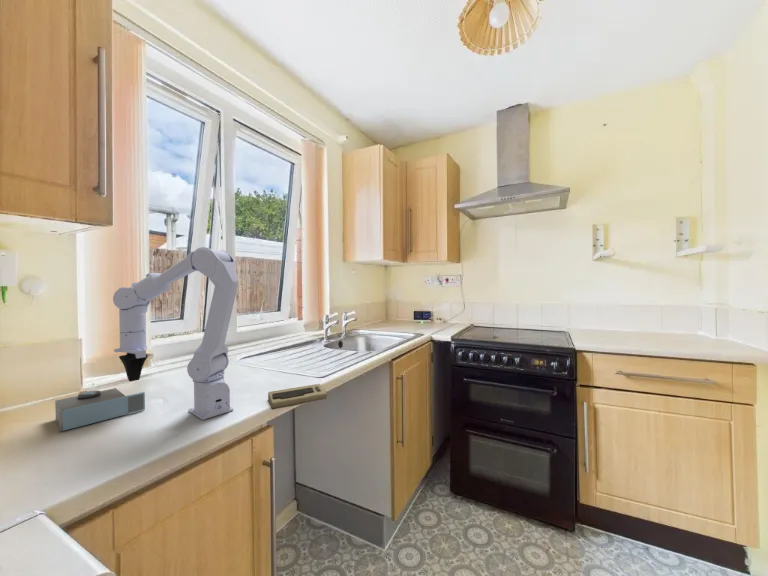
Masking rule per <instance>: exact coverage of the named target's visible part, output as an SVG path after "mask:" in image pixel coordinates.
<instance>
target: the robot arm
mask: <svg viewBox="0 0 768 576" xmlns="http://www.w3.org/2000/svg"><path fill="white" fill-rule="evenodd" d="M235 266H236V260H235V258H234V257H233V256H232V255H231V253H229V252H228V251H226V250H220V249H219V250H218V249H213V248H209V247H206V246H202V247H198V248H196V249H195V250H193V251H191V252H189V253H188V254H187V255H186V256H185V257H184V258H183V259H181V260H180V261H178V262H177V263H175V264H174V265H172V266H170V267H168V268H167V269H166V270H165V271H163V272H162V273H159V272H151V273H150V272H148V273H147V274H145V278H143V279H141V280H140V281H137V282H133V283H131V285H130V286H129V287H125V286H124V287H119V288H118V289H117V290H116V291H115V292H114V293H113V296H112V302H113V304H114V306H115V307H116V308H118V310H119V311H118V315H119V320H118V321H119V348H114V349H113V350H114V353H125V354H123V355H119V356H118V358H119V360H120V361H121V362H122V364H123V366H124V367H123V368H124V370H125V374H126V377H127V380H128V381H129V382H135V381H140V378H141V374H142V371H143V367H144V365H145V362H146V360H147V359H148V356H149V355H148V354H147V349H148V345H147V321H146V320H147V316H146V315H147V312H148V307H149V305H150V304H151V301H153V300H154V299H156V298H158V297H160V296H161V295H162V294H164V293H167V292H168V291H169V290H170V289H171V284H173V283H175V282H176V281H179V280H181V279H182V278H184V277H186V276H188V275H190V274H192V273H194V272H199V273H201V274H203V275H204V276H205V277H206V278H208V279H209V281H210V282H211V283H212V284H213V286H214V288H213V289H214V290H213V293H212V298H211V301H210V306H209V311H208V315H207V319H206V324H205V328H204V332H203V336H202V341H201V344H200V345H199V346H198V347H197V348H196V349H195V351H194V352H193V357H192V358H191V359H190V361H189V362H188V363H187V366H186V371H187V374H188V376H189V377H190V379H192V382H193V397H194V398H193V401H194V402H193V403H194V404H193V407H191V408H189V409H188V412H189V413H191V414H192V415H194V416H195V417H197V418H199V419H200V420H208V419H210V418H213V417H216V416H220V415H222V414H226V413H229V412H232V411H234V408H233V407H231V402H230V401H231V400H230V399H231V397H230V395H231V394H230V393H231V392H230V387H229V385H228V384H227V383H226V382H225V370H226V369H227V368H228V367H229V361H230V360H229V356H228V354H229V348H228V346H226V344H225V343H226V339H227V335H228V334H227V333H228V331H229V325H230V321H231V317H232V313H233V309H234V304H235V301H236V295H237V291H238V286H239V279H238V273H237V269H236V267H235Z"/></svg>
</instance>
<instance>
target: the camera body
mask: <svg viewBox="0 0 768 576" xmlns="http://www.w3.org/2000/svg"><path fill="white" fill-rule="evenodd" d="M123 396H126V395H125V394H123V393H122V392H121V391H120V390H119V389H117V387H115V388H109V389H105V390H89V391H85V392H81V393H78V395H76V396H72V397H71V396H70V397H65V398H61V399H56V400H55V402H54V406H55V407H54V408H55V422H56V423H57V425H58V426H59V411H60V410H65V409H70V408H74V407H78V406H83V405H87V404H92V403H96V402H101V401H105V400H110V399H114V398H119V397H123Z"/></svg>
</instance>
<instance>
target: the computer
mask: <svg viewBox="0 0 768 576" xmlns="http://www.w3.org/2000/svg"><path fill="white" fill-rule="evenodd" d="M327 395H328V394H327V391H326V390H325V389H324V387H323V386H322V385H321V384H320V383H317V384H310V385H304V386H297V387H290V388H284V389H278V390H274V391H273V390H272V391H268V393H267V399H268V402H269V405H270V407H271V409H272V410H273V409H278V408H284V407H288V406H294V405H299V404H304V403H310V402H315V401H316V402H317V401H321V400H326V399H327V398H328V396H327Z"/></svg>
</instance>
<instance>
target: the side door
mask: <svg viewBox="0 0 768 576" xmlns="http://www.w3.org/2000/svg"><path fill="white" fill-rule="evenodd" d="M145 399H146V395H145V391H142V392H138V393H132V394H128V395H125V396H123V397H119V398H114V399H110V400H105V401H101V402H96V403H92V404H87V405H83V406H78V407H74V408H70V409H65V410H60V411H59V425H58V432H59V433H60V432H64V431H68V430H71V429H76V428H80V427H83V426H87V425H90V424H95V423H98V422H102V421H107V420H109V419H114V418H118V417H120V416H121V417H122V416H125V415H129V414H133V413H137V412H140V411H145V409H146V400H145Z"/></svg>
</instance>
